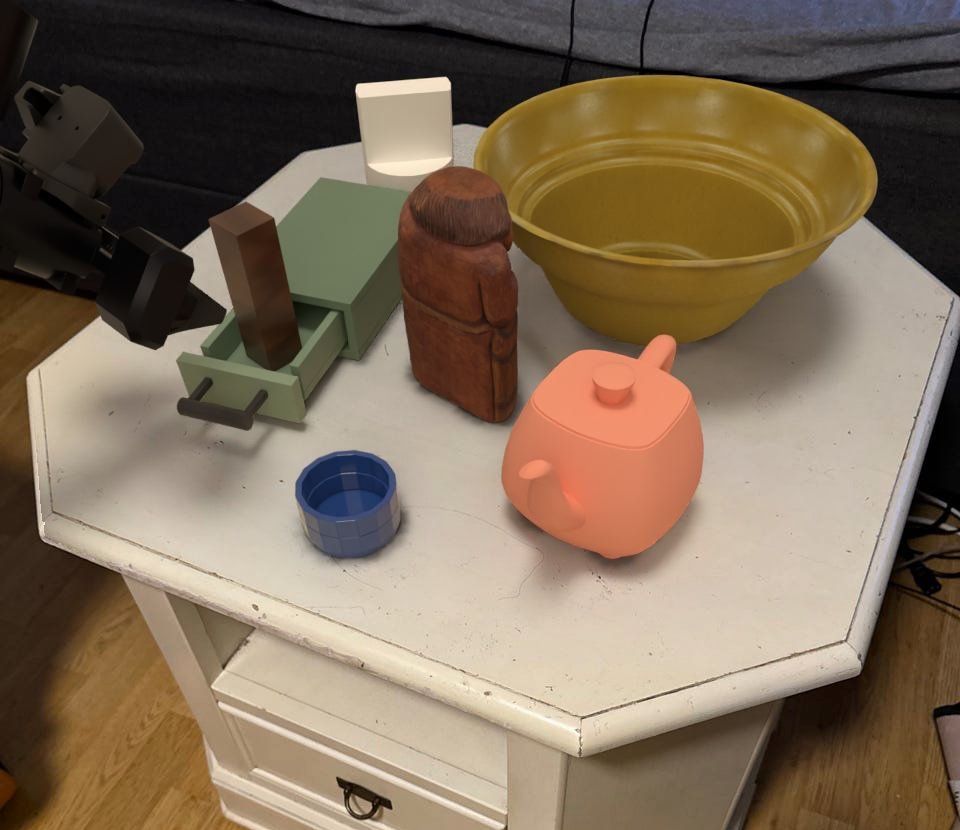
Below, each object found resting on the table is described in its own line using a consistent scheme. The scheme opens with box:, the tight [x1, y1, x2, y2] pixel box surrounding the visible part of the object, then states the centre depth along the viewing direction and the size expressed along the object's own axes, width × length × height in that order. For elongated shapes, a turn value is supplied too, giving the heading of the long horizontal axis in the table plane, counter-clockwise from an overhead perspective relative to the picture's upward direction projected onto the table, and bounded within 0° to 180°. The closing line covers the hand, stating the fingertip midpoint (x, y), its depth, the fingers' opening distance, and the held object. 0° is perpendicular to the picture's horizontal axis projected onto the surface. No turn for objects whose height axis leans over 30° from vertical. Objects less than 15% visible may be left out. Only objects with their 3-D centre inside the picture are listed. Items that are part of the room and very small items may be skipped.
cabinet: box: [276, 176, 412, 361], centre depth 80 cm, size 19×12×6 cm, turn 161°
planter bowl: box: [472, 74, 879, 347], centre depth 75 cm, size 32×32×13 cm
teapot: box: [501, 335, 705, 560], centre depth 60 cm, size 13×20×12 cm, turn 146°
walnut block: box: [208, 201, 302, 372], centre depth 69 cm, size 4×4×12 cm
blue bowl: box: [294, 449, 402, 559], centre depth 63 cm, size 7×7×4 cm
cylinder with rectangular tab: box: [355, 76, 455, 192], centre depth 86 cm, size 9×9×12 cm
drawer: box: [175, 301, 348, 431], centre depth 73 cm, size 22×10×4 cm, turn 161°
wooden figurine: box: [398, 165, 519, 423], centre depth 66 cm, size 12×6×18 cm, turn 49°
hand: (186, 291), depth 64 cm, fingers open, 9 cm apart
